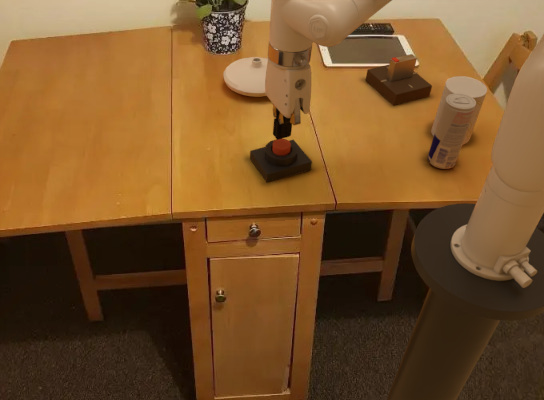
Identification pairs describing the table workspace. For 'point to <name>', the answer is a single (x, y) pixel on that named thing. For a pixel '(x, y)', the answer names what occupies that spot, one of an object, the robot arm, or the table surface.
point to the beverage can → (451, 130)
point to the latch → (401, 67)
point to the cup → (466, 87)
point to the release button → (281, 147)
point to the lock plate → (398, 86)
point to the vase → (247, 76)
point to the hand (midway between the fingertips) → (281, 135)
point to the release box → (280, 162)
